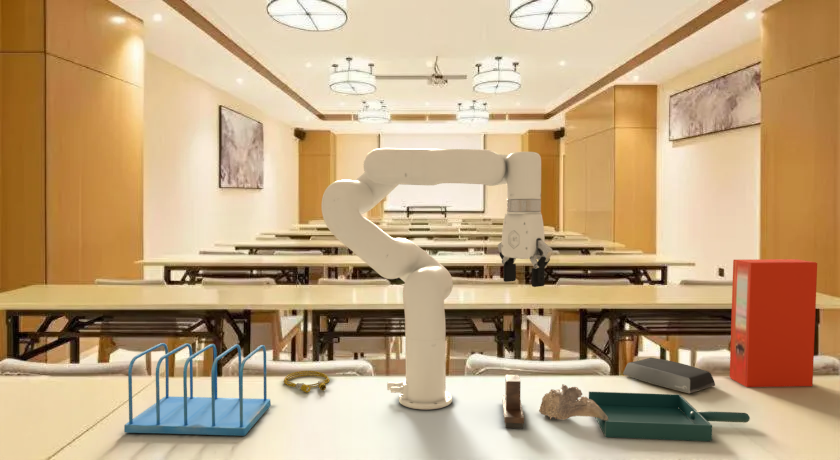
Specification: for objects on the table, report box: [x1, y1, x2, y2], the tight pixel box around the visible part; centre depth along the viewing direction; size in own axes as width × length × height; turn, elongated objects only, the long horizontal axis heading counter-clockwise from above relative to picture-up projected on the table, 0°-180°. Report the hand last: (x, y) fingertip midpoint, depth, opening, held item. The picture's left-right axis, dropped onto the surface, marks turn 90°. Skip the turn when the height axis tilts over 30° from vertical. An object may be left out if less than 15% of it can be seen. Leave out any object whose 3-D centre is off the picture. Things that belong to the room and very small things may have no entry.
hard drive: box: [622, 357, 716, 394], centre depth 154 cm, size 13×19×4 cm
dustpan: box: [588, 391, 751, 442], centre depth 125 cm, size 31×19×3 cm, turn 84°
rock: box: [538, 383, 608, 421], centre depth 127 cm, size 6×14×7 cm, turn 62°
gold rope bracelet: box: [283, 370, 330, 393], centre depth 152 cm, size 12×16×2 cm
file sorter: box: [123, 342, 272, 437], centre depth 126 cm, size 25×17×15 cm
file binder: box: [729, 258, 818, 388], centre depth 153 cm, size 8×17×32 cm, turn 93°
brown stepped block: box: [501, 374, 525, 430], centre depth 128 cm, size 4×14×9 cm, turn 174°
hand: (523, 283), depth 131 cm, fingers open, 9 cm apart
